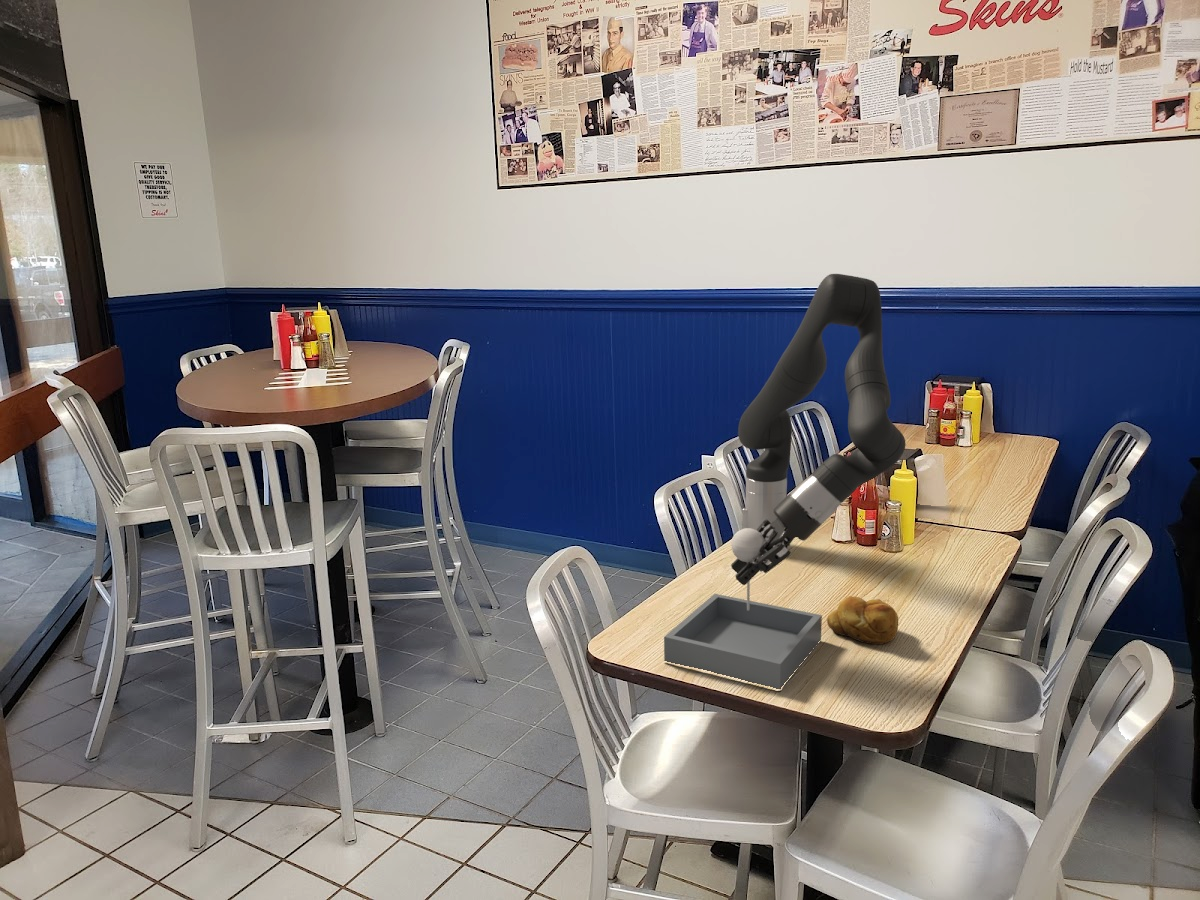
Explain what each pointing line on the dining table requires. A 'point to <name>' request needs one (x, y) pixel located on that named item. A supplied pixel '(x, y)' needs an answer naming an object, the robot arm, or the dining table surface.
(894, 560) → the dining table surface
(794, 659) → the tray
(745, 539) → the lollipop
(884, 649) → the dining table surface
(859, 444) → the robot arm
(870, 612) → the bread roll
